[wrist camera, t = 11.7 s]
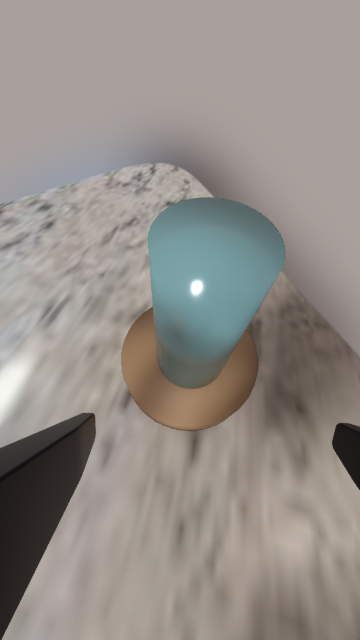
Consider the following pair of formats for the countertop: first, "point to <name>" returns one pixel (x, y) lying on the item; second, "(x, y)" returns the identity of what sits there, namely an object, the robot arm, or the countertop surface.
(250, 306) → the teal tapered cylinder
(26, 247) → the countertop surface
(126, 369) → the base plate
